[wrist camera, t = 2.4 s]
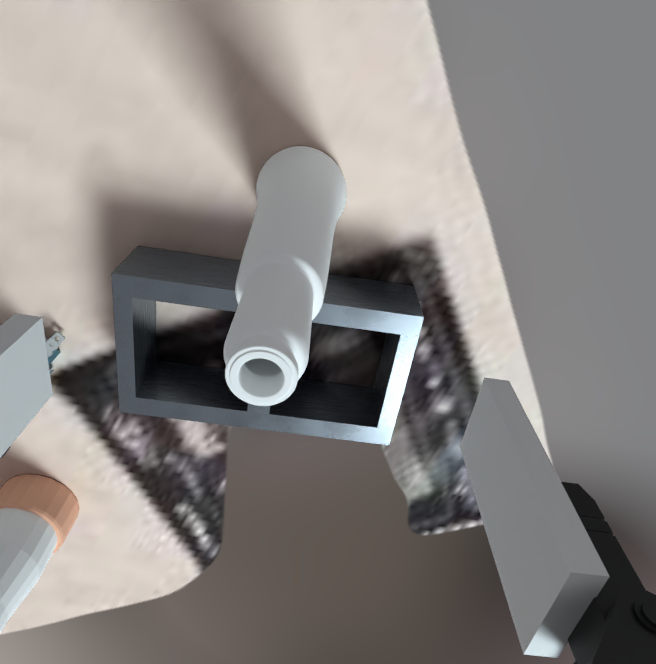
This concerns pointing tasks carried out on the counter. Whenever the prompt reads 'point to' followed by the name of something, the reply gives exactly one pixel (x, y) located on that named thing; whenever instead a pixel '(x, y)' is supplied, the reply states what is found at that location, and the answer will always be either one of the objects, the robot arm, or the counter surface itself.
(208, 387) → the square-hole rail
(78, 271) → the counter surface
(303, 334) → the cosmetic bottle
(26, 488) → the pepper shaker
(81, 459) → the counter surface
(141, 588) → the counter surface
